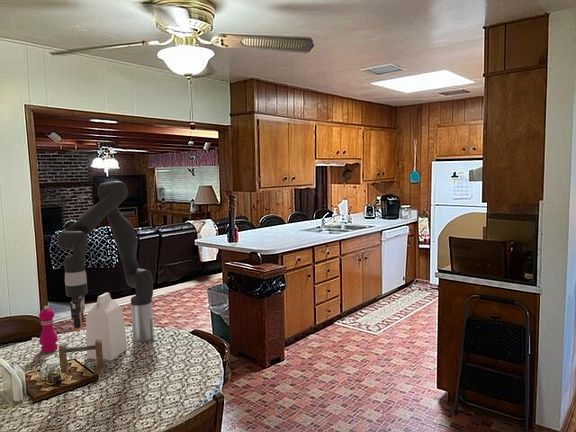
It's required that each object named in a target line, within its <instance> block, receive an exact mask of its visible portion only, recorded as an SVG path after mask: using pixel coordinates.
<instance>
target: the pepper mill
mask: <svg viewBox="0 0 576 432" xmlns="http://www.w3.org/2000/svg"><path fill="white" fill-rule="evenodd" d="M54 317H55V311H54V310H53V309H51V308H49V306H48V305H44V307H43V309H42V310H41V311H40V312H39V314H38V318H39V320H41V321H40V325H41V327H42V330H41V334H40V337H39V340H38V341H39V344H40V345H41V349H40V350H41V352H42V353H50V352H54V351H56V350H58V344H57V343H58V339H59V338H58V335H57V333H56V331H55V329H54Z"/></svg>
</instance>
